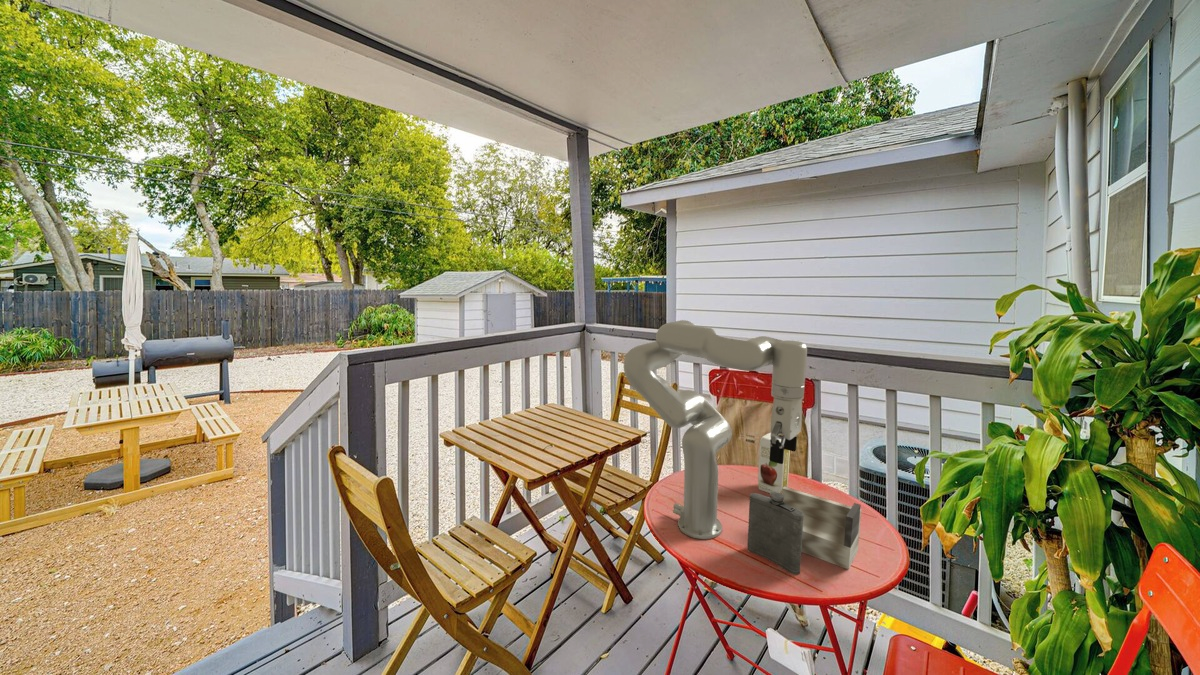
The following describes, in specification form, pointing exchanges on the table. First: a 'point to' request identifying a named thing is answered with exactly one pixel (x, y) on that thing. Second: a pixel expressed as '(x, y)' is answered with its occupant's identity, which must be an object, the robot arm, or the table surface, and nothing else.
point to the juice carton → (771, 468)
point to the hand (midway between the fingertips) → (783, 455)
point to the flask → (775, 531)
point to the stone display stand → (827, 527)
